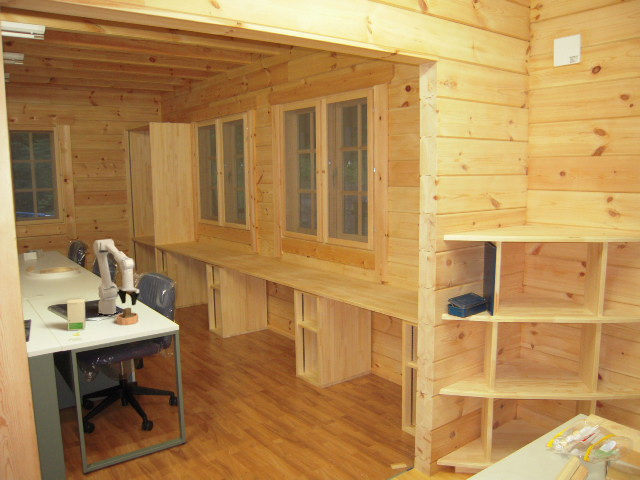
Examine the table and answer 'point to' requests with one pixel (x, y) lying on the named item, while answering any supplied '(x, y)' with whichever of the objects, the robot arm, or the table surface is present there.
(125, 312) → the wooden rectangular peg
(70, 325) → the skincare box
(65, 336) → the table surface
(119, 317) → the faceted orange bowl
